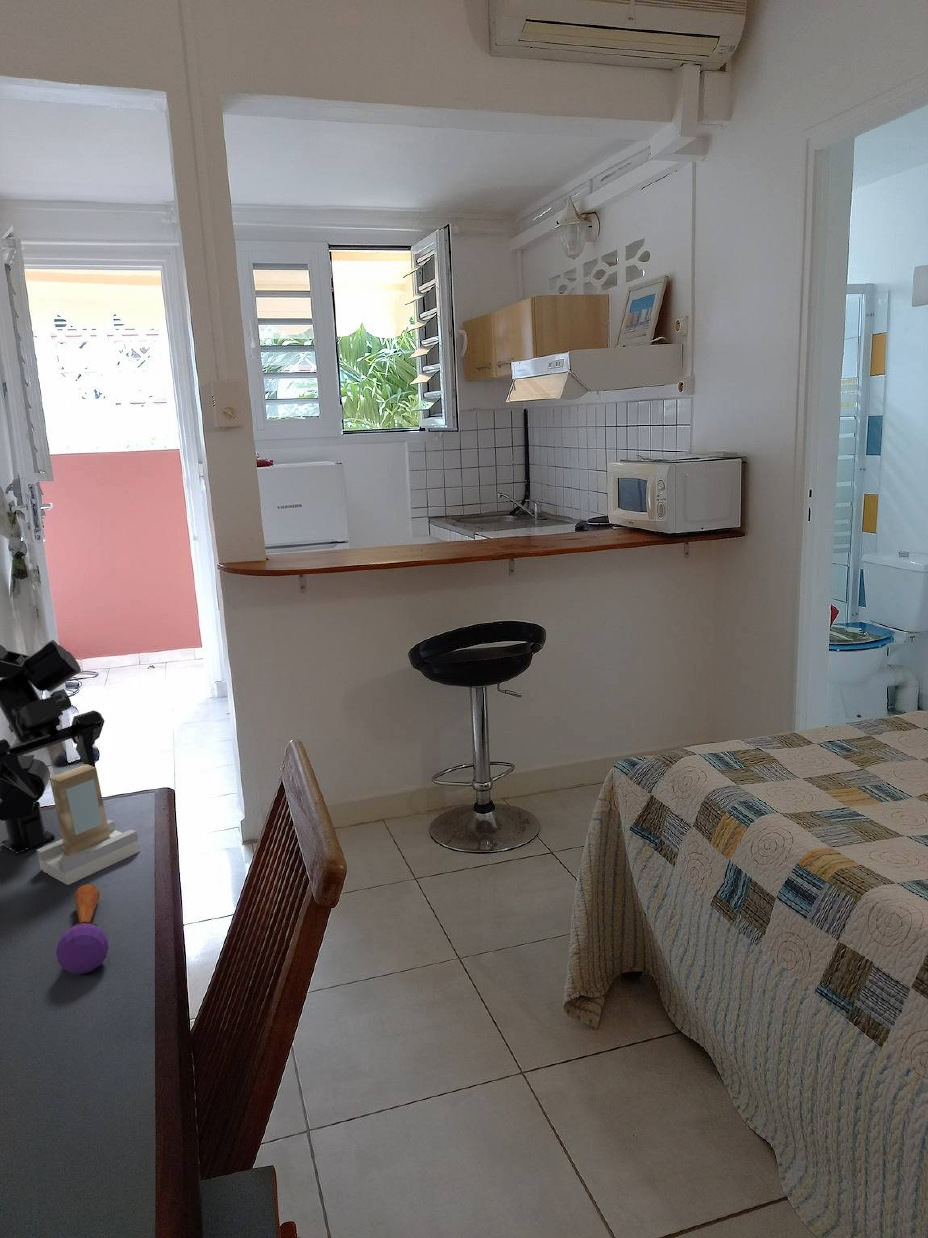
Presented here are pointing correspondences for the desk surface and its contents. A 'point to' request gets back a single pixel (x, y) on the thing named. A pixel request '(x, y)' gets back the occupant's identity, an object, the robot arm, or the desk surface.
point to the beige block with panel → (79, 809)
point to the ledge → (91, 866)
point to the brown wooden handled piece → (83, 936)
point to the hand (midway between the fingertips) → (66, 785)
